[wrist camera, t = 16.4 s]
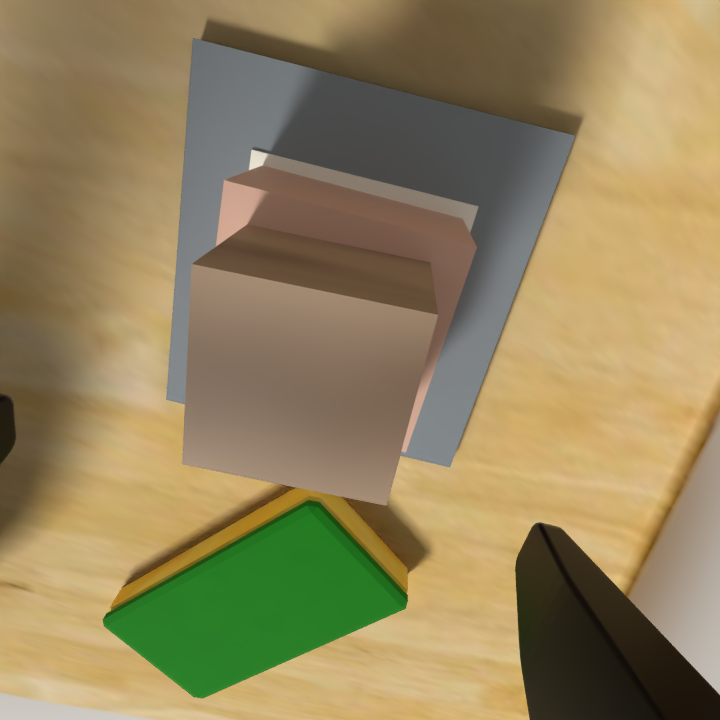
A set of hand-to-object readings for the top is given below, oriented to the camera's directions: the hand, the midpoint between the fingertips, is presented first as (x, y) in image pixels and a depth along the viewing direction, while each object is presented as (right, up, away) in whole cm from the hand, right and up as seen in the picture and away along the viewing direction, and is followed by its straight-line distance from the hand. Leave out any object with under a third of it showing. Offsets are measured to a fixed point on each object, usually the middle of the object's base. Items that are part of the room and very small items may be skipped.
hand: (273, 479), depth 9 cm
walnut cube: (0, +3, +6) cm, 7 cm away
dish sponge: (-4, -9, +18) cm, 21 cm away
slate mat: (+1, +5, +11) cm, 12 cm away
